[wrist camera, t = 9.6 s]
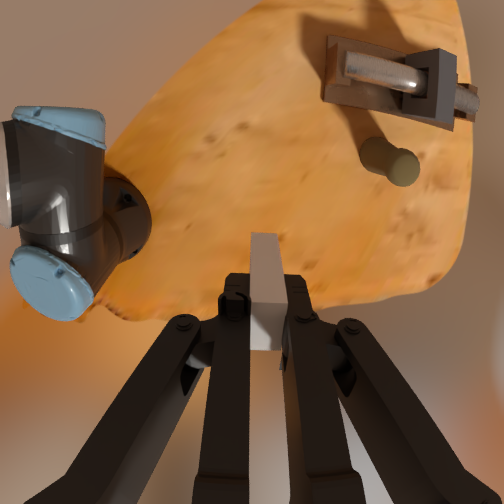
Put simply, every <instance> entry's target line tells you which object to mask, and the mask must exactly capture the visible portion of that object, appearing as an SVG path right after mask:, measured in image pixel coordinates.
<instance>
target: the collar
mask: <svg viewBox="0 0 504 504" xmlns="http://www.w3.org/2000/svg"><path fill="white" fill-rule="evenodd" d="M405 65H407V66H410V67H413V68H416V69H419V70H422V71H427V72H429V78H428V93H427V99H423V98H421V97H419V96H417V95H414V94H410V93H407V92H403V103H402V114H406V115H409V116H413V117H417V118H422V119H428V120H433V121H439V122H444V123H448V124H452V123H453V114H454V104H455V91H456V69H457V56H456V55H454V54H452V53H449V52H447V51H445V50H442V49H440V48H438V49H433V50H428V51H423V52H418V53H414V54H409V55H405Z"/></svg>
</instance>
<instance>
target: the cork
mask: <svg viewBox="0 0 504 504" xmlns="http://www.w3.org/2000/svg"><path fill="white" fill-rule="evenodd" d="M360 160H361V163H362V165H363V166H364V167H365V168H366V169H367V170H368V171H370V172H373V173H376V174H380V175H383V176H386V177H387V178H388V180H389V181H390V182H391V183H393V184H395V185H397V186H402V187H406V186H410V185H411V184H413V183H414V182H415V181H416V180H417V178H418V176H419V173H420V163H419V161H418V158H417V157H416V156H415V154H414V153H413V152H411V151H409V150H408V149H403V148H399V149H398V148H397V147H395V146H394V145H392V144H391V143H390V142H388V141H387V140H385V139H383V138H381V137H371V138H369V139H368V140H366V141H365V142H364V143H363V144H362V147H361V149H360Z"/></svg>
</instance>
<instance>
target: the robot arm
mask: <svg viewBox="0 0 504 504" xmlns="http://www.w3.org/2000/svg"><path fill="white" fill-rule="evenodd" d="M12 118H13V120H10V121H5V122H0V224H1V225H2V226H4V227H5V228H7V229H8V228H11V227H14V226H18V225H19V232H20V238H21V246H20V247H18V248H17V249H16V250H15V252H14V254H13V256H12V258H11V260H10V273H11V277H12V280H13V282H14V284H15V286H16V288H17V290H18V291H19V293H20V294H21V295H22V297H23V298H24V299H25V300H26V301H27V302H28V303H29V304H30V305H31V306H32V307H33V308H34V309H36V310H37V311H38V312H40V313H42V314H43V315H45V316H47V317H49V318H52V319H55V320H59V321H71V320H74V319H76V318H78V317H79V316H80V315H82V313H83V312H84V311H85V310H86V309H87V307H88V306H90V305H91V304H92V302H93V299H94V297H95V296H96V294H97V293H98V291H99V290H100V289H101V287H102V286H103V284H104V283H105V281H106V280H107V279H108V277H109V276H110V274H111V273H112V272H113V270H114V269H115V267H116V266H117V265H118V264H120V263H122V262H124V261H126V260H129V259H131V258H132V257H134V256H135V255H137V254H138V253H139V252H140V251H141V249H142V248H143V247H144V245H145V244H146V242H147V240H148V238H149V236H150V233H151V226H152V220H151V213H150V210H149V207H148V204H147V202H146V200H145V199H144V197H143V196H142V194H141V193H140V192H139V191H138V190H137V189H136V188H135V187H134V186H133V185H131V184H130V183H128V182H126V181H124V180H122V179H118V178H113V177H106V178H104V157H105V150H106V145H105V124H106V123H105V118H104V116H103V115H102V114H101V113H100V112H99V111H97V110H93V109H83V108H70V107H50V106H49V107H48V106H17V107H15V109H14V111H13V113H12ZM281 346H282V350H283V352H282V357H281V363H280V369H279V370H282V376H283V389H284V402H285V413H286V414H285V416H286V429H287V444H288V460H289V476H290V502H289V504H366V500H365V494H364V488H363V483H362V479H361V476H360V474H359V473H358V472H357V471H355V470H354V469H353V468H352V465H351V460H350V454H349V449H348V444H347V439H346V434H345V429H344V423H343V419H342V414H341V409H340V404H339V400H338V397H339V399H340V401H341V403H342V405H343V407H344V409H345V411H346V413H347V415H348V416H349V418H350V420H351V422H352V424H353V426H354V428H355V430H356V432H357V433H358V436H359V437H360V439H361V441H362V443H363V445H364V447H365V449H366V451H367V453H368V455H369V457H370V459H371V461H372V463H373V464H374V466H375V468H376V470H377V472H378V474H379V476H380V478H381V480H382V482H383V484H384V486H385V488H386V490H387V492H388V494H389V496H390V497H391V499H392V501H393V503H394V504H502V501H501V498H500V496H499V495H498V494H497V493H495V492H494V491H493V490H492V489H490V488H489V487H488V486H486V485H485V484H484V483H482V482H481V481H480V480H478V479H477V478H476V477H474V476H473V475H472V474H471V473H469V472H468V471H467V470H465V469H464V467H463V466H462V464H461V462H460V461H459V459H458V458H457V456H456V454H455V453H454V451H453V450H452V448H451V447H450V445H449V443H448V442H447V441H446V439H445V437H444V436H443V434H442V433H441V431H440V430H439V428H438V427H437V425H436V424H435V422H434V421H433V419H432V418H431V416H430V415H429V413H428V412H427V410H426V409H425V407H424V406H423V405H422V403H421V402H420V400H419V399H418V397H417V396H416V394H415V393H414V392H413V390H412V389H411V387H410V386H409V384H408V383H407V382H406V380H405V379H404V378H403V376H402V375H401V373H400V372H399V370H398V369H397V368H396V366H395V365H394V364H393V362H392V361H391V360H390V358H389V357H388V355H387V354H386V353H385V351H384V350H383V348H382V347H381V346H380V344H379V343H378V342H377V341H376V339H375V338H374V336H373V335H372V334H371V332H370V331H369V330H368V328H367V327H366V326H365V325H364V324H363V323H362V322H361V321H359V320H357V319H353V318H345V319H342V320H340V321H339V322H338V324H337V325H335V324H330V323H327V322H324V321H322V320H320V319H319V317H318V315H317V313H315V312H314V311H313V309H312V305H311V301H310V297H309V293H308V289H307V285H306V281H305V280H304V279H303V278H302V277H301V276H300V275H289V274H283V267H282V261H281V254H280V248H279V242H278V236H277V234H274V233H252V232H251V252H250V273H249V274H246V273H230V274H229V275H228V276H227V277H226V279H225V286H224V292H223V293H222V294H221V295H220V296H219V298H218V315H217V316H216V317H214V318H212V319H209V320H205V321H199V319H198V318H197V317H195V316H193V315H190V314H181V315H177V316H175V317H173V318H172V319H171V320H170V321H169V322H168V323H167V325H166V326H165V327H164V329H163V330H162V332H161V333H160V335H159V336H158V337H157V339H156V340H155V342H154V343H153V345H152V346H151V347H150V349H149V350H148V352H147V353H146V354H145V356H144V357H143V359H142V360H141V361H140V363H139V364H138V366H137V367H136V369H135V370H134V372H133V373H132V375H131V376H130V378H129V379H128V380H127V382H126V383H125V385H124V386H123V388H122V389H121V391H120V392H119V393H118V395H117V396H116V398H115V399H114V401H113V402H112V404H111V405H110V407H109V408H108V410H107V411H106V413H105V414H104V416H103V417H102V419H101V420H100V421H99V423H98V425H97V426H96V428H95V429H94V431H93V432H92V434H91V435H90V437H89V438H88V440H87V441H86V443H85V444H84V446H83V447H82V449H81V450H80V452H79V453H78V455H77V457H76V458H75V460H74V461H73V463H72V464H71V466H70V467H69V469H68V471H67V472H66V474H65V475H64V476H62V477H61V478H60V479H58V480H57V481H55V482H54V483H52V484H51V485H50V486H48V487H47V488H45V489H44V490H42V491H41V492H40V493H38V494H36V495H35V496H33V497H32V498H30V499H29V500H27V501H26V502H25V503H24V504H137V502H138V500H139V498H140V496H141V494H142V492H143V490H144V488H145V486H146V484H147V482H148V480H149V479H150V477H151V474H152V473H153V471H154V468H155V467H156V464H157V463H158V461H159V459H160V457H161V455H162V453H163V451H164V449H165V447H166V445H167V443H168V441H169V439H170V437H171V435H172V433H173V431H174V429H175V427H176V425H177V423H178V421H179V419H180V417H181V415H182V413H183V411H184V409H185V407H186V405H187V403H188V401H189V399H190V397H191V395H192V393H193V391H194V389H195V387H196V385H197V382H198V381H199V379H200V376H201V375H202V373H203V371H204V367H210V366H211V371H210V379H209V387H208V394H207V402H206V410H205V418H204V426H203V434H202V443H201V451H200V460H199V469H198V474H197V475H196V477H195V481H194V487H193V496H192V504H249V407H250V350H281Z"/></svg>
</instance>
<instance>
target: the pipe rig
mask: <svg viewBox="0 0 504 504" xmlns="http://www.w3.org/2000/svg"><path fill="white" fill-rule="evenodd" d="M405 55H408V54H404V53H401V52H398V51H395V50H392V49H388V48H385V47H381V46H377V45H373V44H370V43H366V42H361V41H357V40H353V39H348V38H343V37H338V36H333V35H328V36H327V50H326V68H325V83H324V97H323V102H328V103H335V104H341V105H347V106H353V107H358V108H364V109H369V110H373V111H378V112H383V113H387V114H392V115H396V116H400V117H404V118H408V119H412V120H415V121H419V122H422V123H426V124H429V125H433V126H436V127H439V128H443V129H446V130H449V131H452V132H453V128H454V120H455V118H456V119H461V120H466V121H470V122H475V114H476V112H477V111H478V108H479V97H478V95H477V87H475V86H473V85H471V84H464V83H458V74H457V73H456V91H455V104H454V114H453V123H452V124H448V123H444V122H439V121H433V120H428V119H422V118H417V117H413V116H409V115H406V114H402V103H403V92H407V93H410V94H414V95H417V96H419V97H421V98H423V99H427V93H428V78H429V72H427V71H422V70H419V69H416V68H413V67H410V66H407V65H405Z"/></svg>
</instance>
